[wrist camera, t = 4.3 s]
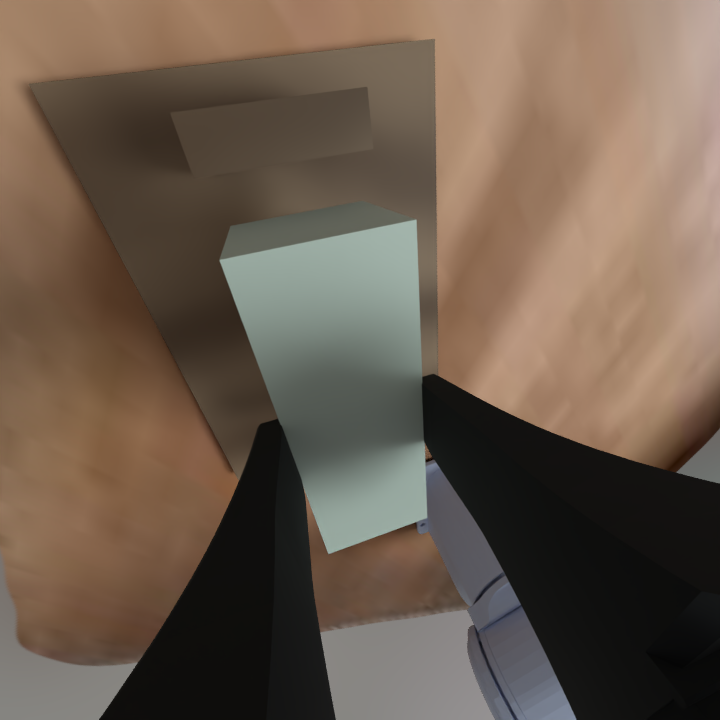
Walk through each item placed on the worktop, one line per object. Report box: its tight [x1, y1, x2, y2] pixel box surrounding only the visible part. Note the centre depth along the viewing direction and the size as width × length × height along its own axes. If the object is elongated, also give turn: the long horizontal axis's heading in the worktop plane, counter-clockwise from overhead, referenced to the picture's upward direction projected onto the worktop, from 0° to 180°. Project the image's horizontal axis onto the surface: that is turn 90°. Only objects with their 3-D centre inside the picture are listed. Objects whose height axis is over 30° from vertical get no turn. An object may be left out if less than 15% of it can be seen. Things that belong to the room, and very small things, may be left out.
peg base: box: [29, 39, 438, 480], centre depth 15 cm, size 20×14×6 cm
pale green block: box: [220, 201, 427, 554], centre depth 11 cm, size 11×4×4 cm, turn 8°
